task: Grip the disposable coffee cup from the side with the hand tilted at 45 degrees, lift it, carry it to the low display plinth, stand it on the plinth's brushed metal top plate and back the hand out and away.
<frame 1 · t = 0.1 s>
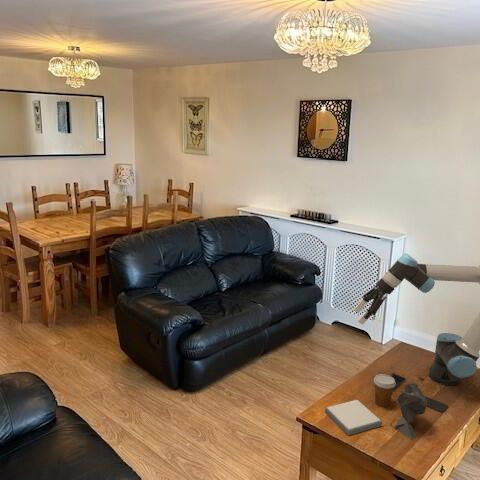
hand: (357, 316, 219), 36 cm above the table, tool tilted 35°, fingers open, 13 cm apart
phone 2: (392, 383, 231), on the table
phone: (428, 404, 215), on the table
disposable coffee cup: (382, 403, 214), on the table
display plinth: (352, 418, 202), on the table
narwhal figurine: (408, 424, 200), on the table
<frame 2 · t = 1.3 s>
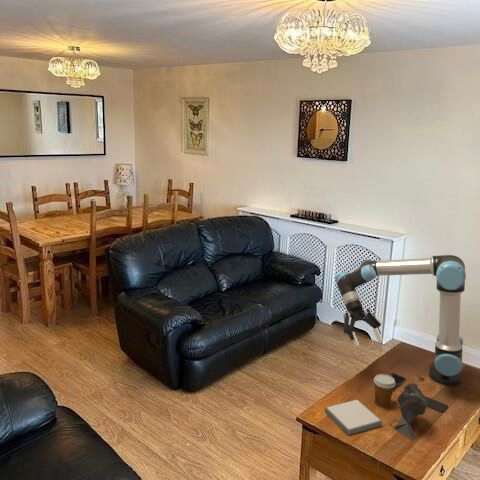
hand: (369, 344, 220), 23 cm above the table, tool tilted 45°, fingers open, 13 cm apart
nothing on the table moved.
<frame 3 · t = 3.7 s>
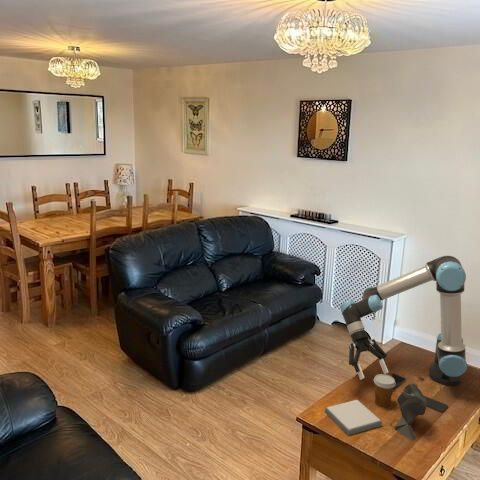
hand: (374, 376, 216), 11 cm above the table, tool tilted 45°, fingers open, 13 cm apart
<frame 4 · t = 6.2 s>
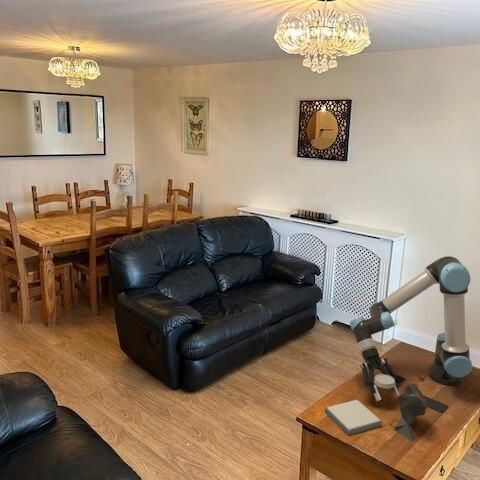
hand: (387, 397, 210), 4 cm above the table, tool tilted 45°, fingers closed on disposable coffee cup, 9 cm apart
disposable coffee cup: (382, 403, 214), on the table, touching gripper
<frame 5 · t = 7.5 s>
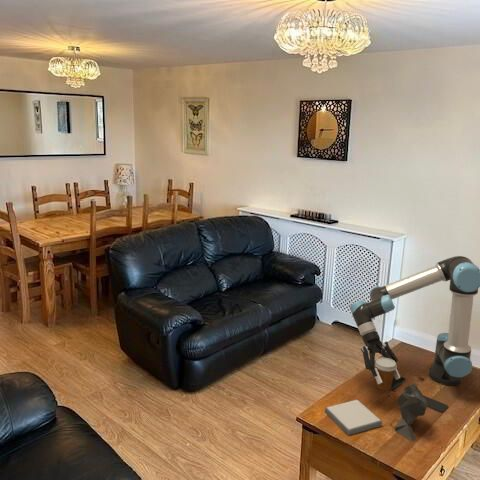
hand: (389, 381, 208), 13 cm above the table, tool tilted 45°, fingers closed on disposable coffee cup, 9 cm apart
disposable coffee cup: (383, 386, 212), point 8 cm above the table, touching gripper
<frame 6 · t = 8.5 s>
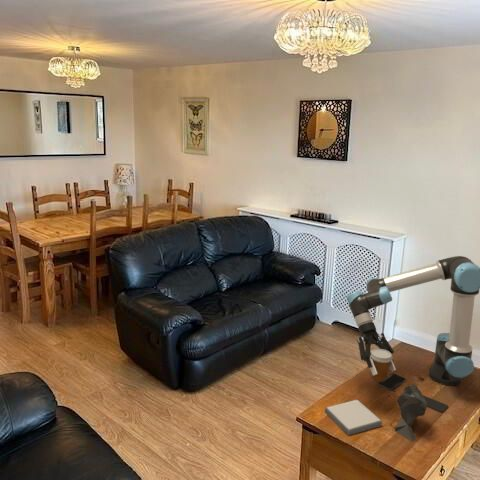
hand: (384, 372, 206), 18 cm above the table, tool tilted 45°, fingers closed on disposable coffee cup, 9 cm apart
disposable coffee cup: (378, 378, 210), point 13 cm above the table, touching gripper
when the fingers open (8 cm above the table, at t = 13.0 s): disposable coffee cup moves 4 cm, resting on display plinth.
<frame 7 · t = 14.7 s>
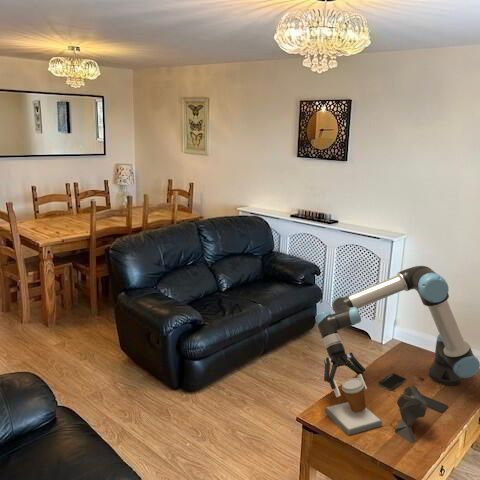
hand: (351, 393, 200), 12 cm above the table, tool tilted 45°, fingers open, 13 cm apart
disposable coffee cup: (358, 408, 204), point 3 cm above the table, touching display plinth
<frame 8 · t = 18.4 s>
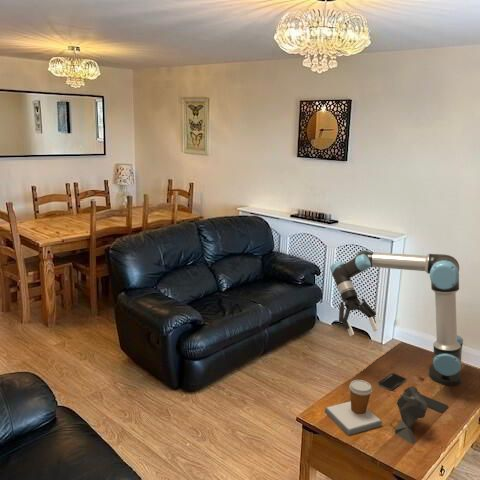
hand: (364, 332, 221), 28 cm above the table, tool tilted 45°, fingers open, 13 cm apart
at the end: disposable coffee cup inside the target area on the display plinth (4.2 cm from its centre), point 2.3 cm above the display plinth's base; disposable coffee cup tilted 0°; the gripper is holding nothing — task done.
